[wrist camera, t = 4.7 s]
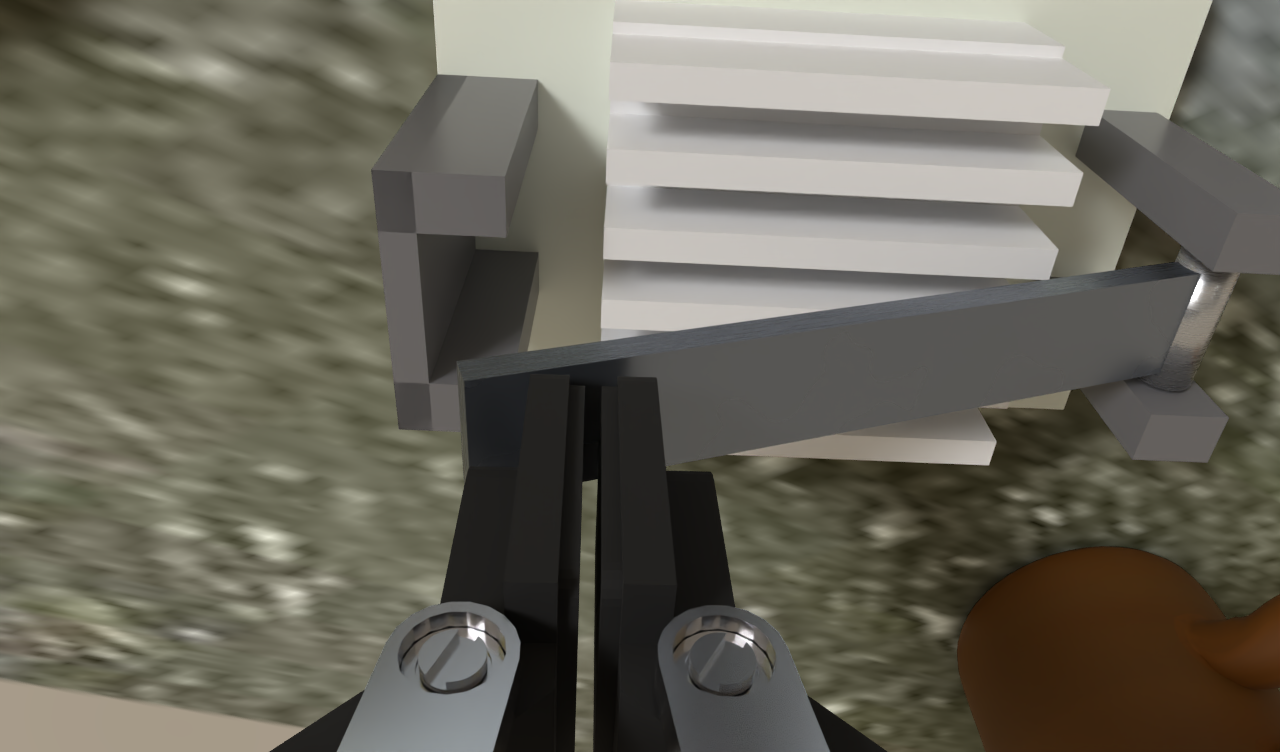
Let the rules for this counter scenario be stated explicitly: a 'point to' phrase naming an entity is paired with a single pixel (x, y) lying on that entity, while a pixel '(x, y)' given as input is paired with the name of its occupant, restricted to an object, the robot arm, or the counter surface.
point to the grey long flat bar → (867, 362)
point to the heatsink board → (795, 182)
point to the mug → (1118, 660)
